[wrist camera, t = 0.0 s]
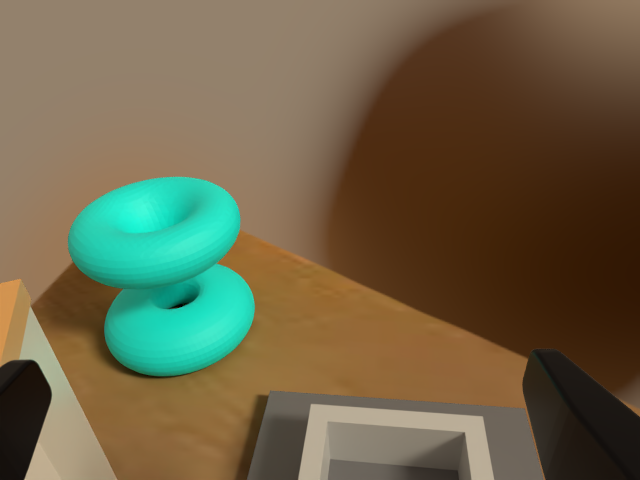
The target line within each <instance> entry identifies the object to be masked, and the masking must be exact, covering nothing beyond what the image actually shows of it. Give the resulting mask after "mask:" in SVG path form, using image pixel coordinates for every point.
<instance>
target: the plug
mask: <svg viewBox="0 0 640 480" xmlns="http://www.w3.org/2000/svg"><path fill="white" fill-rule="evenodd" d="M30 304H31V298H30V296H29V294H28V292H27V290H26V288H25V286H24V284H23V282H22V280H21V279H18V280H13V281H9V282H5V283H0V367H1V366H2V365H4V364H5V363H7V362H9V361H11V360H26V359H31V360H34V361H36V362H37V363H38V364H39V366H40V368H41V370H42V372H43V374H44V375H45V377H46V379H47V381H48V383H49V385H50V387H51V390H52V399H51V403H50V406H49V409H48V412H47V415H46V418H45V421H44V424H43V427H42V430H41V433H40V436H39V439H38V442H37V445H36V448H35V451H34V454H33V457H32V460H31V463H30V466H29V469H28V471H27V474H26V477H25V479H24V480H117V478H116V476H115V474H114V472H113V470H112V468H111V466H110V464H109V462H108V460H107V458H106V456H105V454H104V452H103V450H102V448H101V446H100V444H99V442H98V440H97V438H96V436H95V434H94V432H93V430H92V428H91V426H90V424H89V422H88V420H87V418H86V416H85V414H84V412H83V410H82V408H81V406H80V404H79V402H78V400H77V398H76V396H75V394H74V392H73V390H72V388H71V386H70V384H69V382H68V380H67V378H66V376H65V374H64V372H63V370H62V368H61V366H60V364H59V362H58V360H57V358H56V357H55V355H54V353H53V351H52V349H51V347H50V345H49V343H48V341H47V339H46V337H45V335H44V333H43V331H42V329H41V327H40V325H39V323H38V321H37V319H36V317H35V315H34V313H33V311H32V309H31V307H30Z"/></svg>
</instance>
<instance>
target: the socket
mask: <svg viewBox="0 0 640 480" xmlns="http://www.w3.org/2000/svg"><path fill="white" fill-rule="evenodd" d="M247 480H544V479H543V476H542V472H541V468H540V464H539V461H538V457H537V453H536V449H535V446H534V442H533V438H532V434H531V431H530V427H529V423H528V420H527V416H526V412H525V409H524V408H510V407H496V406H482V405H467V404H453V403H439V402H425V401H411V400H396V399H382V398H368V397H354V396H339V395H325V394H311V393H297V392H283V391H270V393H269V397H268V401H267V405H266V409H265V413H264V416H263V420H262V424H261V428H260V432H259V435H258V439H257V443H256V447H255V451H254V455H253V458H252V462H251V466H250V470H249V474H248V477H247Z"/></svg>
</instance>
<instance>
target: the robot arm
mask: <svg viewBox="0 0 640 480" xmlns="http://www.w3.org/2000/svg"><path fill="white" fill-rule="evenodd" d="M522 386H523V394H524V398H525V402H526V406H527V410H528V414H529V418H530V422H531V426H532V430H533V434H534V437H535V441H536V445H537V449H538V453H539V457H540V461H541V465H542V468H543V472H544V476H545V479H546V480H640V417H639V416H638V415H637V414H636V413H635V412H633V411H632V410H631V409H630V408H628V407H627V406H626V405H625V404H624V403H622V402H621V401H620V400H619V399H617V398H616V397H615V396H614V395H613V394H611V393H610V392H609V391H608V390H606V389H605V388H604V387H603V386H602V385H600V384H599V383H598V382H596V381H595V380H594V379H593V378H592V377H591V376H589V375H588V374H587V373H585V372H584V371H583V370H582V369H581V368H579V367H578V366H577V365H576V364H574V363H573V362H572V361H571V360H570V359H569V358H567V357H566V356H565V355H564V354H562V353H561V352H560V351H558V350H556V349H535V350H532V351H531V353H530V355H529V358H528V362H527V366H526V370H525V374H524V377H523V384H522ZM51 399H52V390H51V387H50V385H49V383H48V381H47V379H46V377H45V375H44V374H43V372H42V370H41V368H40V366H39V364H38V363H37V362H36V361H34V360H31V359H26V360H11V361H9V362H7V363H5V364H4V365H2V366H1V367H0V480H24V479H25V477H26V474H27V471H28V469H29V466H30V463H31V460H32V457H33V454H34V451H35V448H36V445H37V442H38V439H39V436H40V433H41V430H42V427H43V424H44V421H45V418H46V415H47V412H48V409H49V406H50V403H51Z"/></svg>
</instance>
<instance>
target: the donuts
mask: <svg viewBox="0 0 640 480" xmlns="http://www.w3.org/2000/svg"><path fill="white" fill-rule="evenodd" d="M239 229H240V213H239V209H238V206H237V204H236V202H235V200H234V199H233V198H232V197H231V195H230V194H229V193H228V192H227V191H226V190H224V189H223V188H221V187H219V186H217V185H216V184H214V183H211V182H209V181H205V180H201V179H197V178H190V177H166V178H156V179H149V180H145V181H141V182H136V183H132V184H129V185H126V186H123V187H120V188H118V189H115V190H113V191H111V192H109V193H107V194H105V195H103V196H101V197H100V198H98V199H96V200H95V201H93V202H92V203H91V204H89V205H88V206H87V207H86V208H85V209H84V210H83V211H82V212H81V213H80V214H79V215H78V216H77V218H76V219H75V221H74V222H73V224H72V226H71V228H70V232H69V236H68V249H69V253H70V256H71V258H72V260H73V262H74V263H75V265H76V266H77V267H78V268H79V270H80V271H81V272H83V273H84V274H85V275H87V276H88V277H89V278H91V279H93V280H95V281H97V282H99V283H102V284H104V285H107V286H111V287H116V288H122V289H123V290H122V291H121V292H120V293H119V294H118V296H117V297H116V298H115V300H114V301H113V303H112V304H111V306H110V308H109V310H108V313H107V315H106V319H105V325H104V334H105V340H106V343H107V346H108V348H109V350H110V352H111V353H112V355H113V356H114V357H115V358H116V359H117V360H118V361H119V362H120V363H121V364H122V365H124V366H126V367H127V368H129V369H131V370H134V371H136V372H139V373H142V374H146V375H151V376H177V375H182V374H187V373H191V372H194V371H198V370H201V369H203V368H206V367H208V366H210V365H212V364H214V363H215V362H217V361H219V360H221V359H222V358H224V357H225V356H227V355H228V354H229V353H230V352H232V351H233V350H234V349H235V348H236V347H237V346H238V345H239V344H240V343H241V341H242V340H243V339H244V337H245V336H246V334H247V332H248V331H249V329H250V327H251V324H252V321H253V317H254V311H255V304H254V298H253V294H252V292H251V290H250V287H249V286H248V284H247V283H246V282H245V281H244V279H243V278H242V277H241V276H240V275H238V274H237V273H236V272H234V271H233V270H231V269H229V268H227V267H225V266H222V265H219V264H216V263H217V262H218V261H220V260H221V259H222V258H223V257H224V256H225V255H226V254H227V252H228V251H229V250H230V248H231V247H232V246H233V244H234V242H235V241H236V238H237V236H238V233H239ZM184 303H189V304H187V305H185V306H183V307H180V308H176V309H170V308H172V307H174V306H177V305H180V304H184Z"/></svg>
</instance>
